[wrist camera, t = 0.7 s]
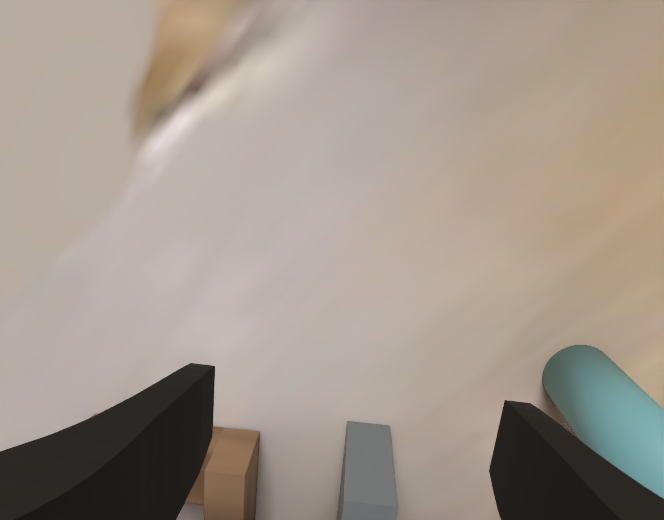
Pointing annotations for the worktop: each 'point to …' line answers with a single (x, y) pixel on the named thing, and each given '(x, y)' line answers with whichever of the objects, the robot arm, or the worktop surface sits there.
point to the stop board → (367, 474)
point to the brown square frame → (228, 476)
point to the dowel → (609, 412)
